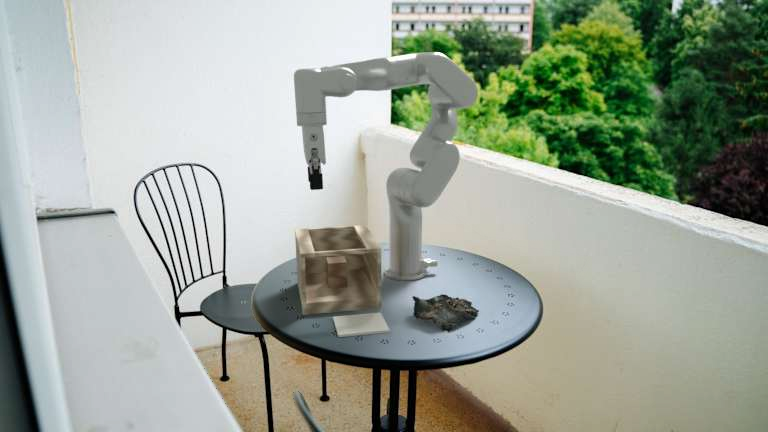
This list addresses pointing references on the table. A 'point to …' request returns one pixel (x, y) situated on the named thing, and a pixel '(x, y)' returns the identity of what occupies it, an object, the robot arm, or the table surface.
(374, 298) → the slot box
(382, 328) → the tile pad
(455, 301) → the decorative rock
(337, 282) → the walnut block
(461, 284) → the table surface
